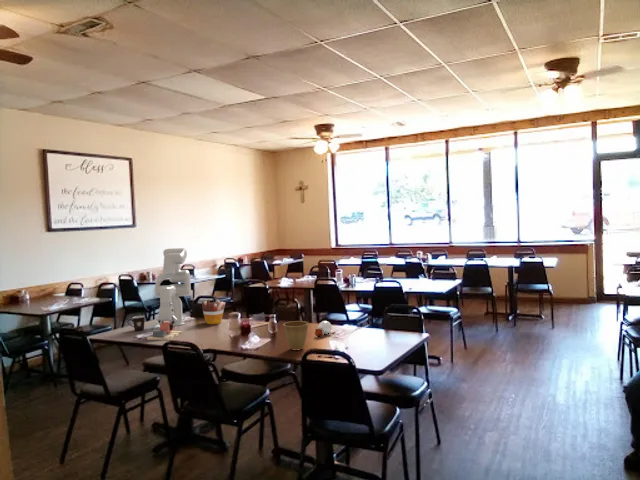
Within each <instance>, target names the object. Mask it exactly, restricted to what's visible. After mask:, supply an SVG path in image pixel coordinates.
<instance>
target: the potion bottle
mask: <svg viewBox="0 0 640 480" xmlns="http://www.w3.org/2000/svg"><path fill="white" fill-rule="evenodd" d="M332 330H333V326H332V324H331V322H329V321H327V320H322V321H321V322H319V324H318V326H317V327H316V328H315V331H314V335H315V336H316V337H318V336H321V337H323V336H325V335H324V334H327V335H329V334H330V333H332ZM328 333H329V334H328Z"/></svg>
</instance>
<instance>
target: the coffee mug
mask: <svg viewBox="0 0 640 480" xmlns="http://www.w3.org/2000/svg"><path fill="white" fill-rule="evenodd" d="M145 320H146V316H145V315H135V316H133V317H132V319H128V320H127V324H128V325H129V326H131V327H133V328H134V332H143V331H144V330H145ZM129 321H132V322H133V325H132V324H130V323H129Z"/></svg>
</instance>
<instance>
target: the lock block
mask: <svg viewBox="0 0 640 480" xmlns="http://www.w3.org/2000/svg"><path fill="white" fill-rule="evenodd" d="M174 327H175V326H174V325H173V330H170V322H169V321H164V323H161V324H160V323H159V330H166V333H169V332H171V331H175V328H174Z"/></svg>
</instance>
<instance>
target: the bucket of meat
mask: <svg viewBox="0 0 640 480" xmlns="http://www.w3.org/2000/svg"><path fill="white" fill-rule="evenodd" d="M201 304H202V306H201V307H202V308H201V309H202V312H203V313H202V314H203V316H204V321H205V323H206V324H207V325H219V324H221V323H222V320H223V317H224V310H225V306H226V302H225V301H220V300H219V299H217V298H216V300H215V301H213V302H210V300H209V299H207V300H204V301H201Z"/></svg>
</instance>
